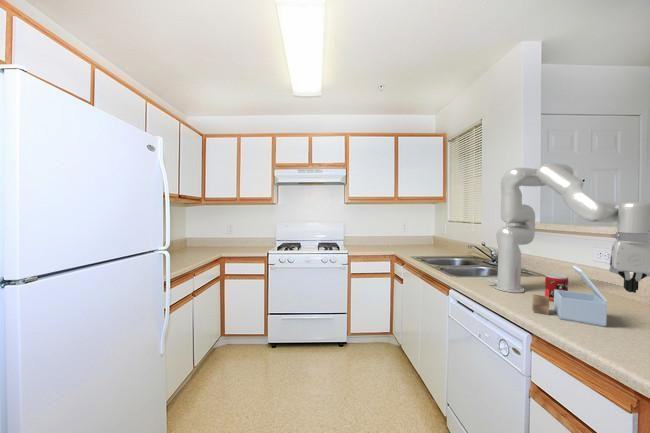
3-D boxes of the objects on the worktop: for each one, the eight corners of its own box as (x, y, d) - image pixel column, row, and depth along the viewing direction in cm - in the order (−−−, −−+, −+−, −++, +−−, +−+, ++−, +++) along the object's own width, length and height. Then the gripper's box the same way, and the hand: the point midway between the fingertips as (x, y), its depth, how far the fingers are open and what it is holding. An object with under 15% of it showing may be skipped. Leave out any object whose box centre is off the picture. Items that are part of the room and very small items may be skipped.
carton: (559, 319, 98) (560, 297, 98) (553, 309, 109) (554, 289, 108) (606, 327, 92) (607, 303, 92) (594, 315, 102) (595, 294, 102)
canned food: (549, 301, 117) (550, 276, 117) (541, 296, 125) (542, 272, 124) (571, 304, 115) (572, 278, 114) (562, 298, 122) (563, 274, 122)
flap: (579, 271, 96) (582, 270, 95) (571, 266, 105) (574, 265, 105) (604, 302, 92) (607, 301, 92) (594, 293, 102) (596, 292, 102)
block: (533, 312, 104) (534, 297, 104) (532, 309, 108) (532, 294, 108) (548, 315, 102) (549, 299, 102) (546, 311, 106) (547, 296, 106)
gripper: (606, 237, 93) (604, 290, 94) (672, 240, 85) (669, 298, 86) (599, 235, 100) (597, 285, 100) (660, 238, 92) (657, 292, 92)
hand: (630, 291), depth 93 cm, fingers closed
